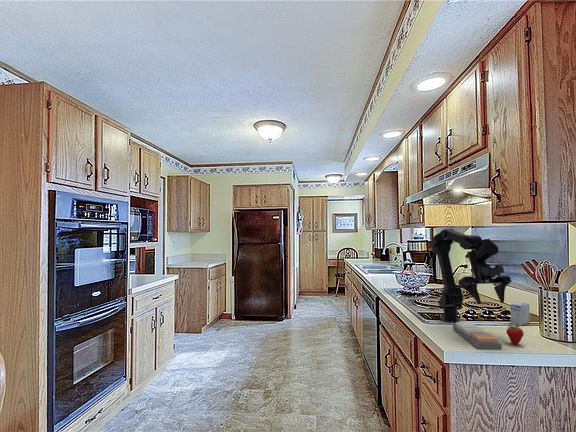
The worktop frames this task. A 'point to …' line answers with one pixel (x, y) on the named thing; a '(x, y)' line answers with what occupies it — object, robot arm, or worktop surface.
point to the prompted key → (483, 338)
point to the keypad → (468, 328)
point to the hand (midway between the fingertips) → (491, 303)
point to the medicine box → (519, 313)
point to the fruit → (514, 333)
